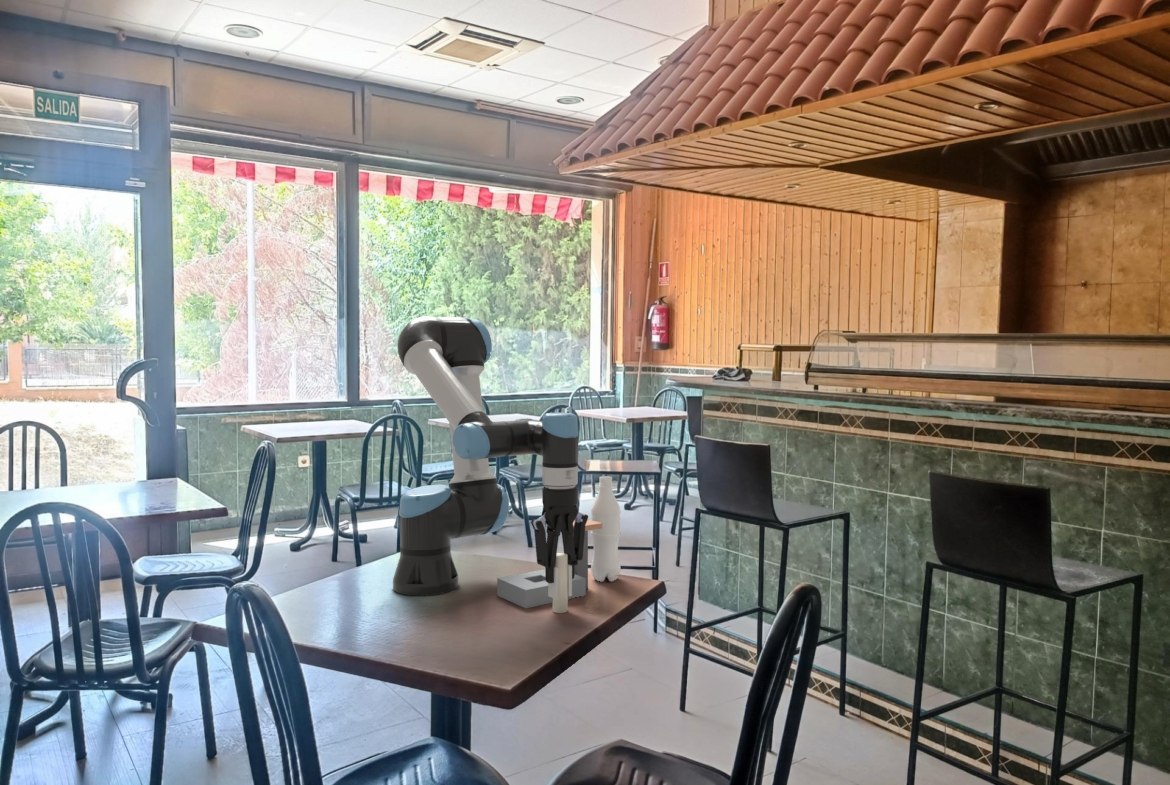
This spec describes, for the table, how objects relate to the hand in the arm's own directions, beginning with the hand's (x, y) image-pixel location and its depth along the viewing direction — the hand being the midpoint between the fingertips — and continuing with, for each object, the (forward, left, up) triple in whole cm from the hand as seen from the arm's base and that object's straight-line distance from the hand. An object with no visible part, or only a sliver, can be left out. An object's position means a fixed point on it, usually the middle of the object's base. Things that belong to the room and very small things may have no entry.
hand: (560, 595), depth 172 cm
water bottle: (-14, +23, -3) cm, 27 cm away
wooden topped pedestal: (-12, +12, -3) cm, 17 cm away
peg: (0, 0, -3) cm, 3 cm away
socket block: (-12, +3, -3) cm, 13 cm away
